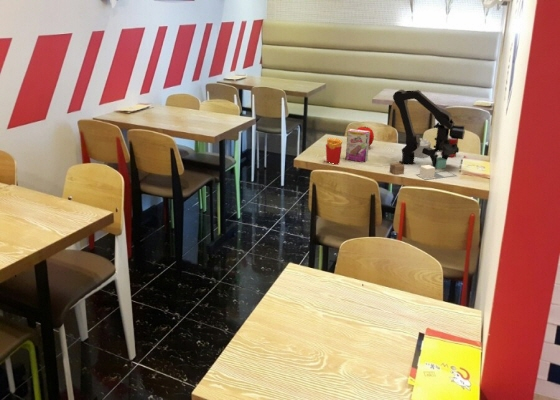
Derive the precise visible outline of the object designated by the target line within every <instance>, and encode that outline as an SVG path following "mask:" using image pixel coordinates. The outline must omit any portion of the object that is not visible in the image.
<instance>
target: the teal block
mask: <svg viewBox="0 0 560 400" xmlns="http://www.w3.org/2000/svg"><path fill="white" fill-rule="evenodd" d="M447 161H448V159H447V160H446V159H444V158H442V156H438V157H437V160H436V166H435V169H437V170H439V169H446V168H447V167H446V166H447ZM431 166H433V163H432V162H431ZM433 167H434V166H433Z"/></svg>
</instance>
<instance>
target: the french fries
mask: <svg viewBox="0 0 560 400" xmlns="http://www.w3.org/2000/svg"><path fill="white" fill-rule="evenodd" d="M342 144H343V141H342V140H341V139H339V138H333V137H331V138H327V139H326V144H325V153H326V163H327V162H330V163H334V164H333V165H339V164H340V161H341V155H342ZM330 163H329V164H330ZM338 163H339V164H338Z"/></svg>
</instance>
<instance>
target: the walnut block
mask: <svg viewBox="0 0 560 400" xmlns="http://www.w3.org/2000/svg"><path fill="white" fill-rule="evenodd" d="M389 173H391V174H393V175H395V176H396V175H404V173H405V165H404V164H402V163H400V162H394V163H390V165H389Z"/></svg>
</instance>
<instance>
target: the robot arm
mask: <svg viewBox="0 0 560 400" xmlns="http://www.w3.org/2000/svg"><path fill="white" fill-rule="evenodd" d="M392 100H393V102H394V103H395V105H396V107H397V108H398V111H399V114H400V118H401V120H402V124H403V125H402V126H403V128H404V132H405V146H404V147H403V148H402V149H401V153H402V157H401V160H400V161H399V162H398V163H400V164H402V165H404V166H405V165H415V164H416V162H415V157H414V154H415V153H414V151H415V150H416V149H417V148H418V147H419V146H420V142H421V140H420V138H421V137H420V134H416V131H415V129H414V126H413V122H412V119H411V115H410V112H409V107H408V102H409V101H408V100H416V101H417V103H419V104H420V105H422V106H423V107H424V108H425V109H427V111H429V112H430V113H431V114H432V115H433V117H434V119H435V120H436V121H437V123H436V124H435V125H433V128H434V129H437V131H436V137H435V138H434V140H435V145H433V147H431V146H430V147H427V148H423V150H422V153H424V154H426V155H428V157H429V158H430V160H431V164H432V163H433V166H434V167H435V166H436V160H437V157H440V156H439V155H438V153H441V152H442V155H441V157H442V158H444V159H446V160H447V161H448V158H450V157H449V156H450V155H453V153H456V154H458V153H459V152H460V151H459V150H460V149H459V147H458V144H453V145H452V144H450V141H449V139H448V135H449V136H450V137H451V138H454V139H458V140H464V139H465V135H466V134H465V132H466V131H465V125H457V124H455V122H454V120H453V118H452V114H451V113H450V112H449V111H447V110H446V109H444V108H442V107H439V106H438V105H436V103H434V102H433V101H432V100H431V99H429V98H428V97H427V96H426V95H425V94H423V93H422V92H421V90H419V89H416V90H404V89H399V90H397V91H395V92H393V95H392Z"/></svg>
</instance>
